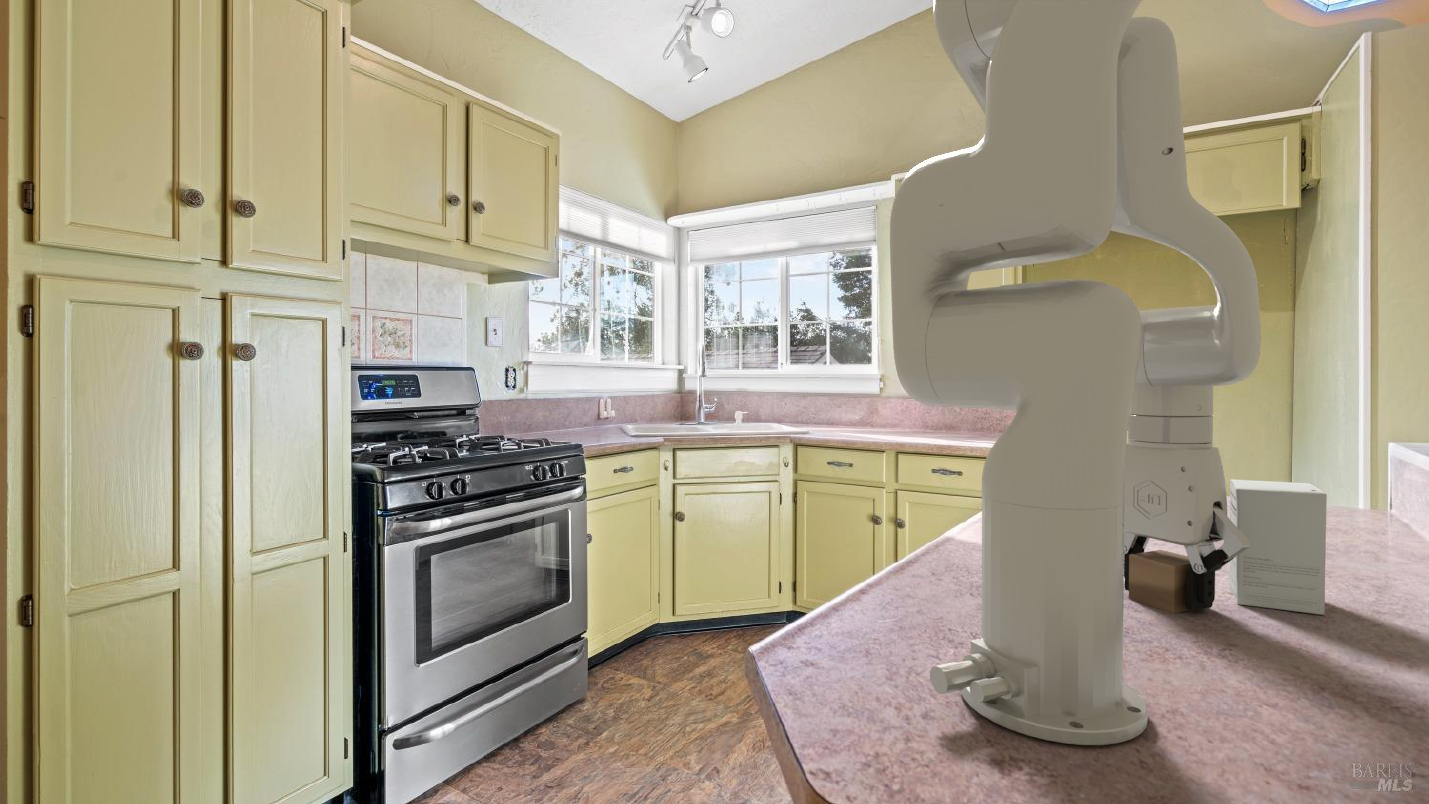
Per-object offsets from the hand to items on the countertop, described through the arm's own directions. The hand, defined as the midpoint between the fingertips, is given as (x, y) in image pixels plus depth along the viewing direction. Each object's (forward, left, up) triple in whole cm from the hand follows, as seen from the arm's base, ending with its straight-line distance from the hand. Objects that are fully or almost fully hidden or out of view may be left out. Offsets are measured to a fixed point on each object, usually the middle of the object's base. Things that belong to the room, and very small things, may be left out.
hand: (1166, 596), depth 74 cm
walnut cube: (0, 0, -1) cm, 1 cm away
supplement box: (+11, -4, -1) cm, 12 cm away
